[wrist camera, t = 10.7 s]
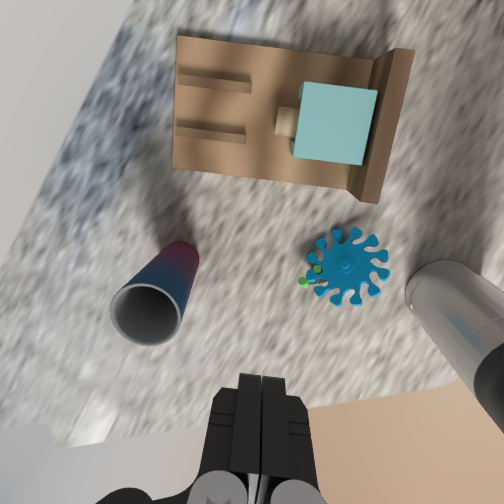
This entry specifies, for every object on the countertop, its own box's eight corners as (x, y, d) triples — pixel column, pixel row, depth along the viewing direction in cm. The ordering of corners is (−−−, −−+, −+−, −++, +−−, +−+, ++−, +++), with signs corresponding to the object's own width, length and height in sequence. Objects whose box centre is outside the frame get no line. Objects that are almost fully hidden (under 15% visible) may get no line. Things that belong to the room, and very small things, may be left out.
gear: (375, 214, 44) (401, 292, 39) (379, 233, 49) (402, 304, 44) (289, 241, 47) (304, 315, 42) (300, 256, 52) (315, 324, 48)
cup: (153, 234, 47) (105, 282, 33) (204, 235, 47) (178, 283, 33) (157, 281, 50) (114, 345, 35) (207, 282, 49) (183, 347, 35)
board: (387, 63, 39) (415, 50, 32) (359, 190, 44) (378, 204, 37) (178, 36, 39) (158, 17, 32) (173, 167, 44) (154, 176, 37)
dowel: (350, 112, 40) (354, 122, 38) (343, 138, 42) (346, 149, 40) (279, 102, 40) (278, 111, 38) (275, 128, 42) (274, 139, 40)
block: (362, 94, 40) (377, 90, 34) (349, 159, 42) (361, 165, 37) (299, 86, 40) (304, 81, 34) (289, 152, 42) (293, 156, 37)
